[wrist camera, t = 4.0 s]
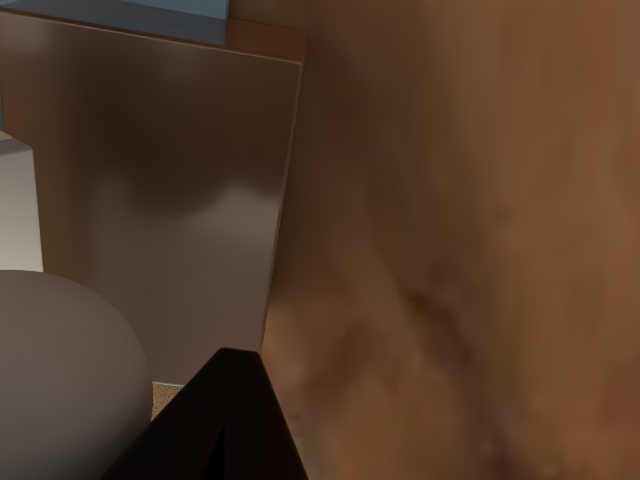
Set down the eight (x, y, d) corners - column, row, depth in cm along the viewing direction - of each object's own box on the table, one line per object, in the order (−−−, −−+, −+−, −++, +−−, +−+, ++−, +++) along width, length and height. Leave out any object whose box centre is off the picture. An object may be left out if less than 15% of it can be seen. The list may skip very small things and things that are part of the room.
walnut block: (307, 31, 14) (305, 60, 11) (265, 309, 18) (254, 395, 15) (70, -12, 14) (-12, 5, 10) (84, 285, 18) (28, 368, 14)
